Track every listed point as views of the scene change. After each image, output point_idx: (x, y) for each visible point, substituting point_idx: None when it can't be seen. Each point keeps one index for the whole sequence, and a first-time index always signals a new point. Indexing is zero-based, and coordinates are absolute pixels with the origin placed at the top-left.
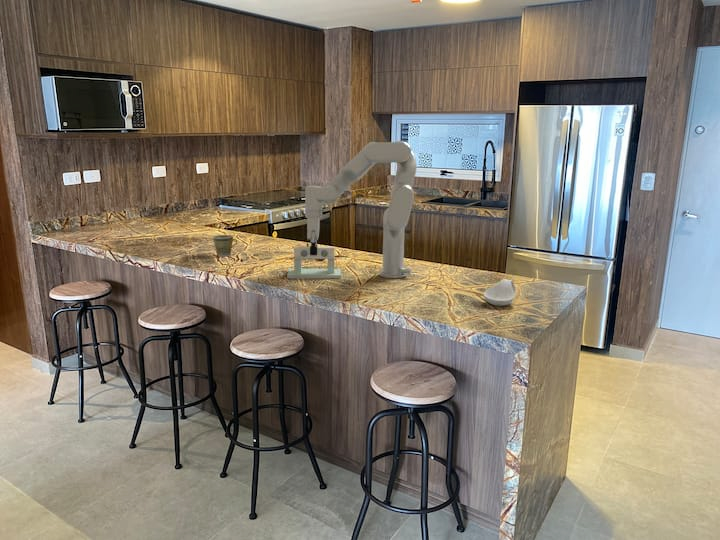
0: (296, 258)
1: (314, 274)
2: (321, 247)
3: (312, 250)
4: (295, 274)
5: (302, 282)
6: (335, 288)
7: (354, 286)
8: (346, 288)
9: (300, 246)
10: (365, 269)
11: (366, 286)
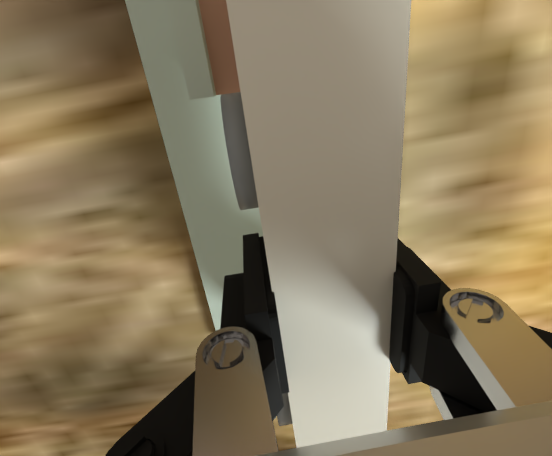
0: (176, 24)
1: (204, 207)
2: (319, 417)
3: (224, 309)
4: (163, 42)
5: (49, 136)
6: (7, 349)
7: (90, 410)
8: (36, 390)
9: (396, 58)
10: (411, 400)
11: (111, 445)
